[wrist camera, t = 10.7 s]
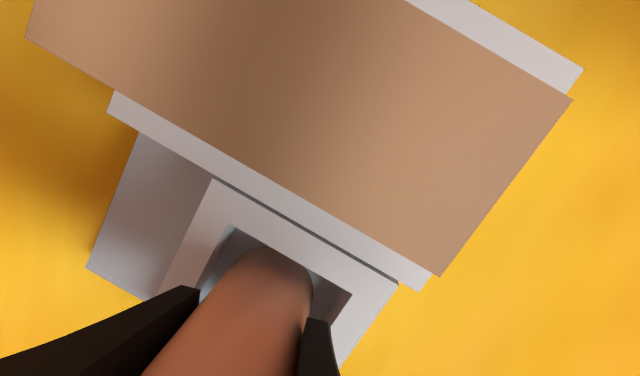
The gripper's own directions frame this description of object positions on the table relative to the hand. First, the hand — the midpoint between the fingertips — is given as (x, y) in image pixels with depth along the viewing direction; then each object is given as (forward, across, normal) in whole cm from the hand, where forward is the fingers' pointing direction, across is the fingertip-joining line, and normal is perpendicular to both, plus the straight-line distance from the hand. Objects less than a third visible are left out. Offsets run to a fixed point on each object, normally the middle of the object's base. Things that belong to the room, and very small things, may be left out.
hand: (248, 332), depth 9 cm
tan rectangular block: (+3, 0, -7) cm, 8 cm away
